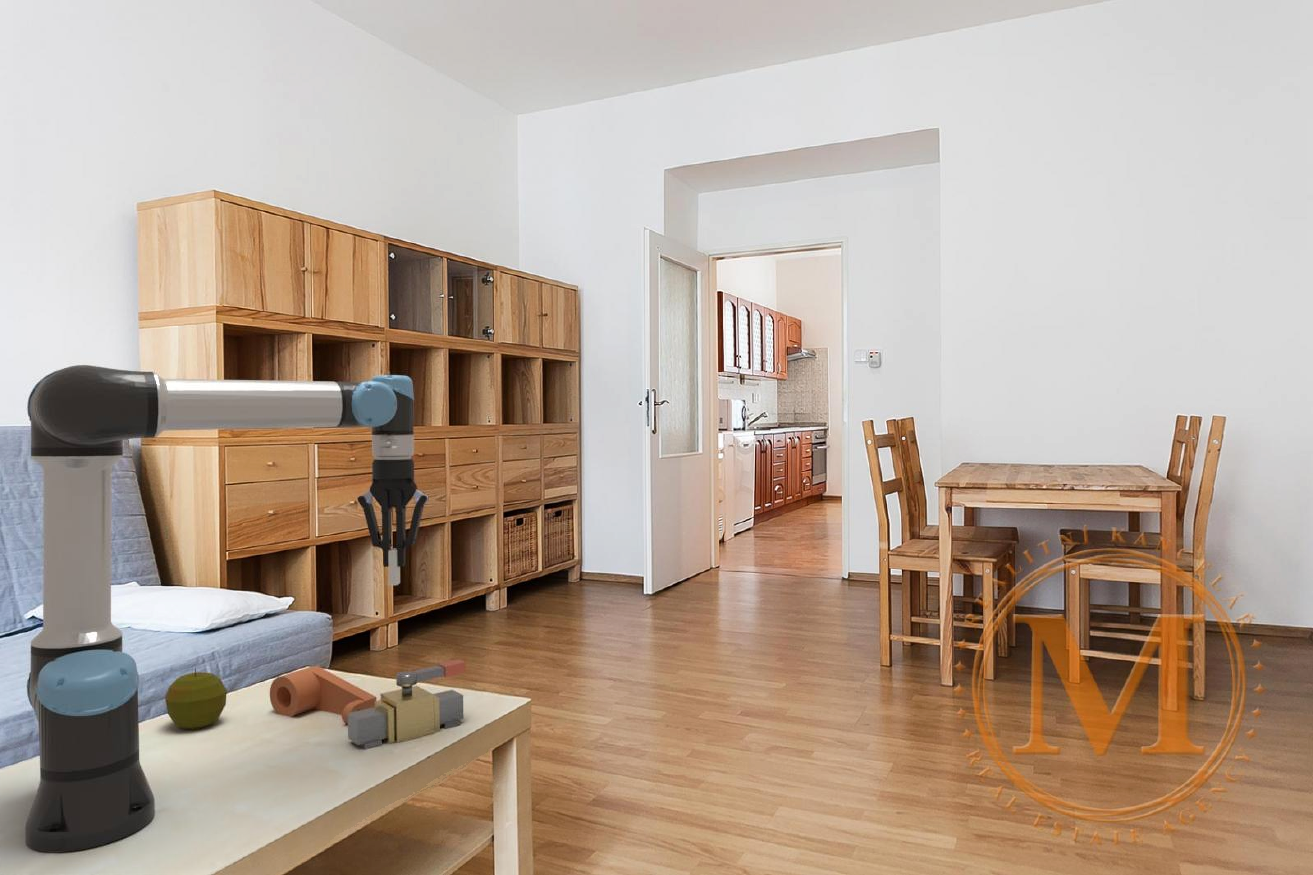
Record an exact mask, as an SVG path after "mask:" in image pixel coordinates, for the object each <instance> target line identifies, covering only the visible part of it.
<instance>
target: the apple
mask: <svg viewBox="0 0 1313 875" xmlns="http://www.w3.org/2000/svg"><path fill="white" fill-rule="evenodd" d="M227 691H228V690H227V689H226V686H225V685H224V682H223V681H222V679H221V678H220V677H218V676H217V675H216V674H214V673H212V672H203V671H201V672H200V671H199V672H198V671H197V669H196V668H194V672H191V673H187V674H184V675H180V676H179V677H177V678H176V680H174V681H173V682H172V683H171V684H170V685H169V687H168V689H167V692H166V694H165V697H164V699H165V705H166V710H167V715H168V716H169V718H170V719H171V721H172V722H173V724H174V726H177V727H179V728H181V729H183V730H190V731H191V730H200V729H203V728H205V727H208V726H210V725H211V724H214V723H215V722H217V721H218V720H219V718H220V716H221V714H222V713H223V711H224V709H225V708H226V705H227V695H228V694H227V693H228V692H227Z"/></svg>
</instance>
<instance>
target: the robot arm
mask: <svg viewBox="0 0 1313 875" xmlns="http://www.w3.org/2000/svg"><path fill="white" fill-rule="evenodd" d="M414 395H415V394H414V384H413V379H412V378H411V377H410V376H408V375H400V374H399V375H398V374H386V375H383V374H379V375H373V376H372V377H371V380H364V381H327V380H326V381H325V380H324V381H323V380H322V381H320V380H318V381H315V380H313V381H312V380H268V379H266V380H263V379H262V380H258V379H256V380H255V379H254V380H253V379H251V380H250V379H195V378H194V379H193V378H191V379H189V378H188V379H187V378H186V379H185V378H183V379H182V378H163V377H161V376H160V375H159V374H158V373H156V372H155V371H141V370H140V371H138V370H135V371H134V370H127V369H126V370H125V369H117V368H110V367H103V366H96V365H88V364H83V365H82V364H81V365H79V364H77V365H72V366H71V365H70V366H68V367H64V368H60V369H57V370H54V371H53V372H51V373H48V374H47V375H45V376H44V377H43V378H40V380H39V381H38V382H37V383H36V384H35V385H34V386H33V388H32V390H31V391H30V394H29V395H28V396H29V397H28V399H27V407H26V410H27V415H28V417H29V421H30V458H31V460H33V461H34V462H35V463H36V464H38V465H39V466H40V467H41V468H42V470H43V486H42V487H43V503H42V504H43V505H42V508H43V511H42V512H43V515H42V516H43V518H42V519H43V521H42V522H43V528H42V529H43V531H42V532H43V535H42V536H43V538H42V539H43V541H42V542H43V543H42V545H43V546H42V547H43V551H42V552H43V553H42V556H43V557H42V558H43V559H42V561H43V563H42V564H43V565H42V566H43V567H42V568H43V569H42V570H43V571H42V572H43V573H42V574H43V576H42V577H43V578H42V580H43V584H42V586H43V587H42V588H43V589H42V590H43V591H42V597H43V598H42V603H43V604H42V608H43V609H42V614H43V615H42V629H41V631H40V632H39V633H38V634H37V635H36V636H35V637H34V638H33V639H32V640H31V641H30V671H29V673H28V679H27V681H26V694H27V699H28V702H29V704H30V706H31V707H32V708H33V710H34V714H35V716H36V720H37V723H38V739H39V740H38V741H39V742H38V743H39V767H40V768H39V770H40V771H39V772H40V773H39V774H40V776H39V777H40V779H39V784H38V785H39V786H38V788H37V790H36V793H35V797H34V799H33V802H32V806H31V808H30V811H29V814H28V817H27V820H26V823H25V843H26V846H28V848H31V849H32V850H35V851H39V852H45V853H46V852H47V853H64V852H72V851H73V852H74V851H80V850H85V849H89V848H90V849H92V848H94V847H95V848H96V847H99V846H102V845H106V844H109V843H112V842H115V841H118V840H120V839H123V838H125V837H128V836H131V834H134V833H136V832H137V831H139V830H141V829H143V828H144V827H146V825H148V824H149V823H150V822H152V820H153V819H154V817H155V814H156V810H155V809H156V807H155V806H156V805H155V804H156V803H155V796H154V793H153V791H152V788H151V786H150V784H149V782H148V779H147V777H146V774H145V771H144V769H143V767H142V765H141V762H140V728H139V721H140V720H139V689H138V688H139V686H140V685H139V684H140V676H139V672H138V668H137V667H138V666H137V662H136V660H135V658H134V657H133V656H132V655H130V654H128V653H126V652H124V651H123V632H122V630H121V629H119V627H117V626H115V625H114V624H113V623H112V468H113V467H114V466H115V465H116V464H117V463H118V462H119V461H120V460H122V458H124V457H123V456H124V452H123V451H124V441H125V440H132V439H150V438H151V439H153V438H157V437H158V436H159V435H161V434H162V433H163V432H165V431H201V430H209V431H210V430H250V429H251V430H253V429H255V430H257V429H262V430H263V429H296V428H299V429H304V428H309V429H310V428H325V429H326V428H371V453H372V454H371V455H372V457H374V458H375V459H373V460H372V462H371V465H372V466H371V468H372V470H371V471H372V472H371V473H372V476H371V477H372V478H371V479H372V480H371V481H372V482H371V485H370V487H369V491H367V492H366V493H364V494H363V495H360V496H359V495H358V497H357V502H358V503H359V505H360V506H361V507H362V509H363V513H364V517H365V521H366V525H367V528H368V531H369V532H368V534H369V537H370V540H371V544H372V546H373V547H375V548H379V549H381V550H382V565H383V567H384V568H388V586H399V584H401V568H402V567H405V565H406V549H407V548H409V547H411V546H413V545H414V544H416V541H417V537H418V532H419V529H420V525H421V524H420V523H421V520H422V516H423V511H424V507H425V506H426V504H427V502H428V501H429V499H430V495H429V494H427V493H426V494H425V493H423V492H421V491H420V490H418V486H417V484H416V482H415V460H414V459H413V458H412V457H413V456H414V455H415V435H414V434H415V433H414V418H415V417H414V414H415V413H414V410H415V409H414V408H415V407H414V403H415V397H414ZM413 497H414V500H413V502H414V504H415V505H414V508H413V512H412V516H411V520H410V525H409V529H408V533H406V529H407V528H406V526H407V525H406V522H407V521H406V512H407V505H409V503H410V501H411V500H412V499H413ZM373 498H374V499H375V501H376V502H377V503H378V505H379V506H380V508H381V509H380V510H381V512H380V513H381V532H380V527H379V524H378V521H377V515H376V513H375V508H374V505H373V502H374V499H373ZM393 508H395V510H394V513H395V528H396V529H395V537H396V538H395V539H396V540H395V541H396V546H395V548H392V547H393V541H392V540H393V539H392V538H393V534H392V532H393V529H392V528H393V525H392V523H393V522H392V520H393V518H392V517H393V516H392V515H393V514H392V512H393ZM406 534H408V535H406ZM406 536H407V537H406Z"/></svg>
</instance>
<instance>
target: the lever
mask: <svg viewBox="0 0 1313 875" xmlns="http://www.w3.org/2000/svg"><path fill="white" fill-rule="evenodd" d="M464 673H467V662H466V661H464V660H462V659H459V658H458V659H453V660H450V661H444V662H441V663H438V664H437V665H433V666H429V667H428V666H427V667H424V668H420V669H415V670H405V671H399V672H397V673H396V674H395V675H396V676H395V677H396V679H395V681H396V686H397V687H401V688H402V687H407V686H412V687H413V686H416V685H417V684H418V683H421V682H425V681H430V680H433V679H438V678H442V677H444V678H446V677H451V676H455V675H458V674H459V675H460V674H464Z"/></svg>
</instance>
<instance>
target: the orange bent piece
mask: <svg viewBox="0 0 1313 875" xmlns="http://www.w3.org/2000/svg"><path fill="white" fill-rule="evenodd" d="M269 699H270V700H269V701H270V703H271V707H272V708H273V710H274V712H275V713H276V714H278V715H280V716H285V717H288V718H292V717H294V716H297V715H300V714H302V713H305V712H308V711H310V710H313V709H314V710H319V711H322V712H328V713H331V714H332V713H333V714H336V715H341V718H342V721H343V723H344V724H346V725H348V713H351V712H356V711H360V710H364V709H369V708H373V707H375V701H377V696H376V695H374V694H371V693H369V692H367V691H366V690H363V689H362V688H360V687H359V686H357V685H354V684H352V683H350V682H349V681H347V680H345V679H343V678H342V677H339V676H337V675H335V674H334V673H331V672H330V671H328V670H326V669H324V668H322V667H321V666H318V665H311V666H309V667H305V668H303V669H300V670H296V671H294V672H290V673H286V674H284V675H281V676H277V677H276V678H275V679H273V680H272V683H271V685H270V687H269Z"/></svg>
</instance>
